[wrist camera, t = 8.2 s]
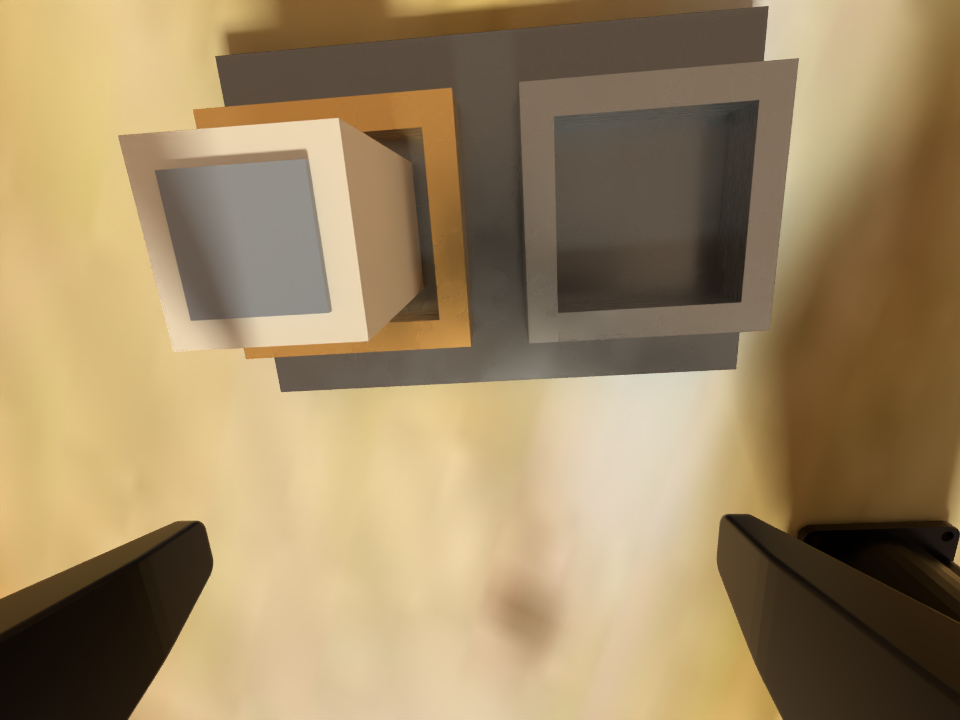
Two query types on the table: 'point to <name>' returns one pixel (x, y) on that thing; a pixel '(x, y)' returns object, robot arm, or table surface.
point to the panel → (555, 192)
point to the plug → (275, 232)
